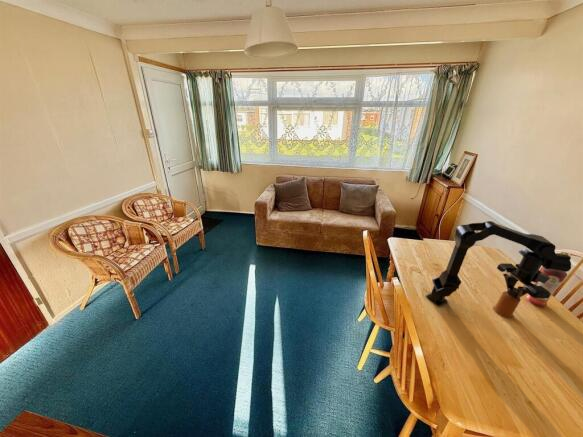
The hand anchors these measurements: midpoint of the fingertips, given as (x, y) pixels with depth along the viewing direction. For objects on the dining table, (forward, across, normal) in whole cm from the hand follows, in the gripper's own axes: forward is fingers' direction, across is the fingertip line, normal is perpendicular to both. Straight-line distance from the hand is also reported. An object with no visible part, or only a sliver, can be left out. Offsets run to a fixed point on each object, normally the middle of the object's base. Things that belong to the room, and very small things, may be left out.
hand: (513, 294), depth 99 cm
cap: (-2, 0, 0) cm, 2 cm away
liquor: (+11, +6, -20) cm, 23 cm away
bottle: (+10, 0, 0) cm, 11 cm away
